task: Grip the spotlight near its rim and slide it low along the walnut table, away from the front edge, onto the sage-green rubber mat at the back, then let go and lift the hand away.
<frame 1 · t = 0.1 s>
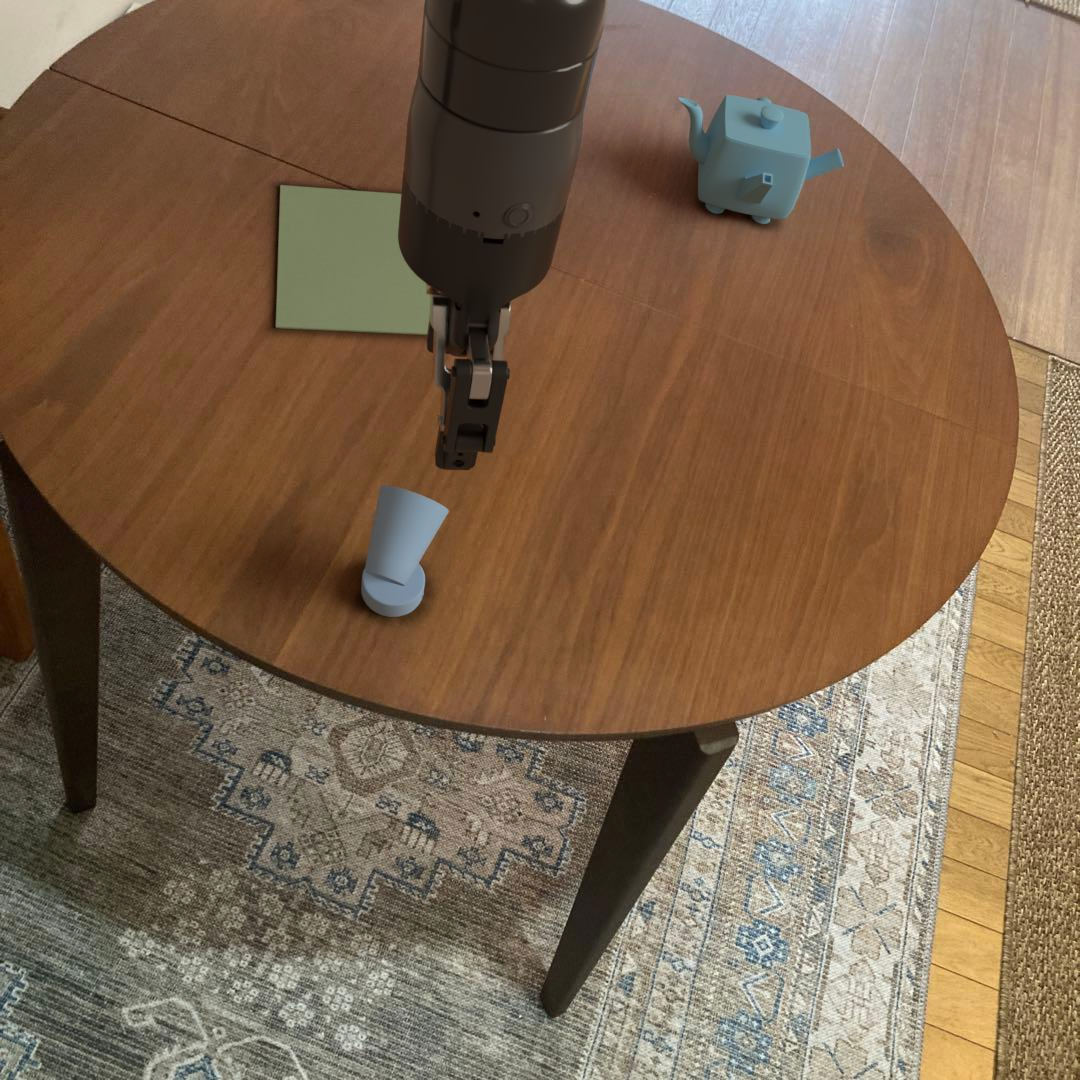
hand: (449, 405, 60), 20 cm above the table, tool pointing down, fingers open, 8 cm apart
teapot: (735, 202, 108), on the table
spotlight: (394, 586, 76), on the table
mat: (380, 259, 94), on the table
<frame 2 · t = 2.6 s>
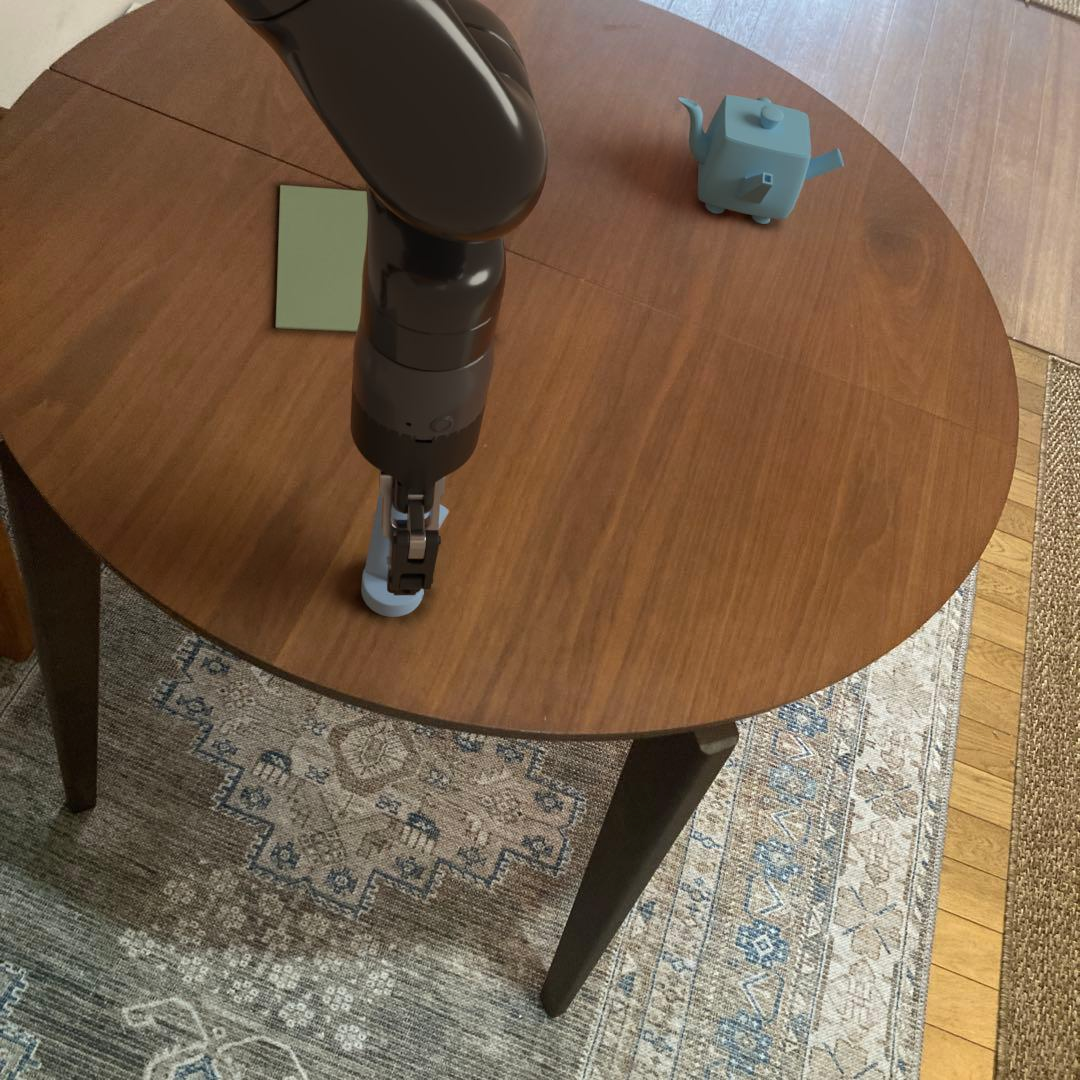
hand: (401, 540, 71), 6 cm above the table, tool pointing down, fingers closed on spotlight, 7 cm apart
spotlight: (394, 586, 76), on the table, touching gripper
everything else where it was.
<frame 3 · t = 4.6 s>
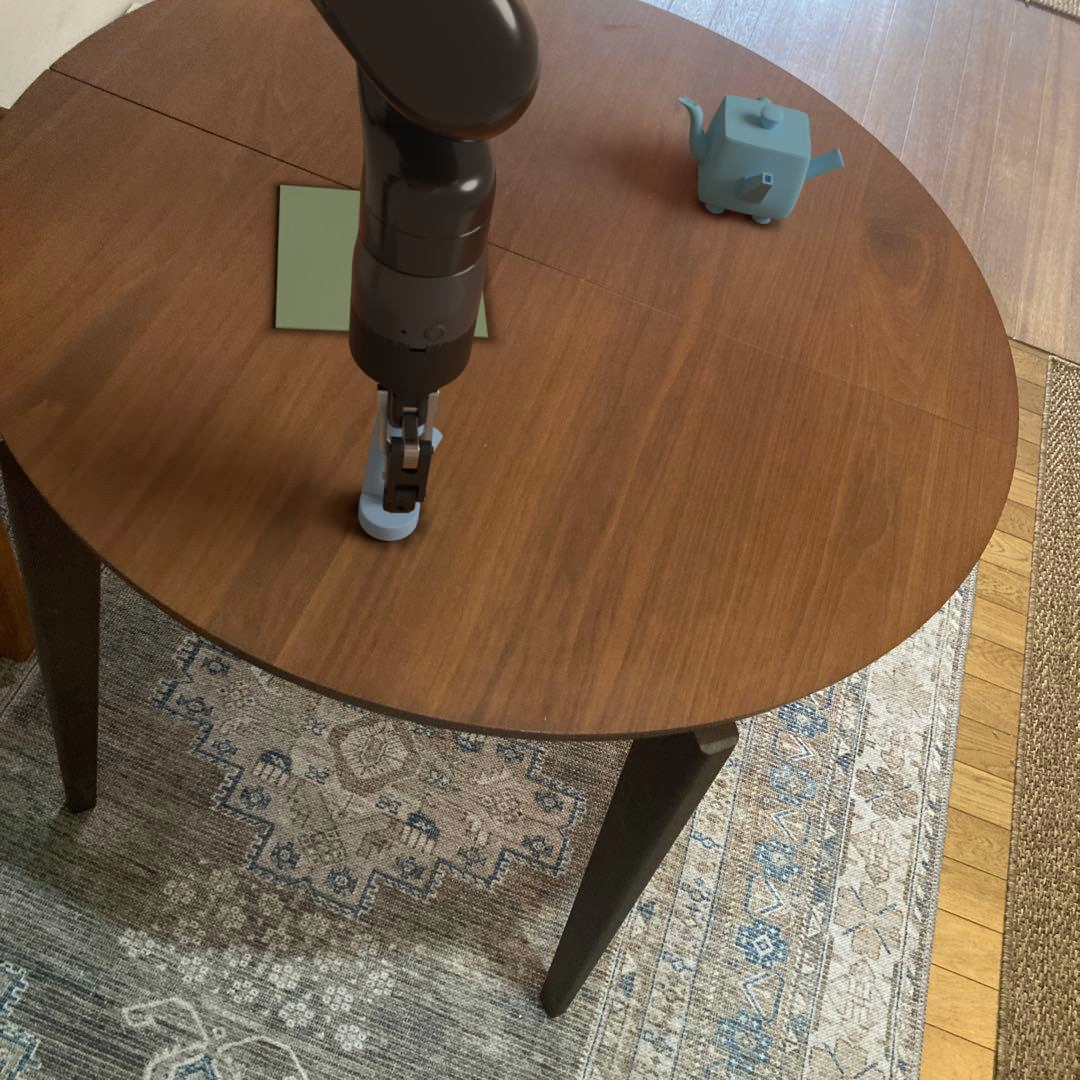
hand: (396, 463, 74), 6 cm above the table, tool pointing down, fingers closed on spotlight, 7 cm apart
spotlight: (390, 512, 79), on the table, touching gripper
everything else where it was.
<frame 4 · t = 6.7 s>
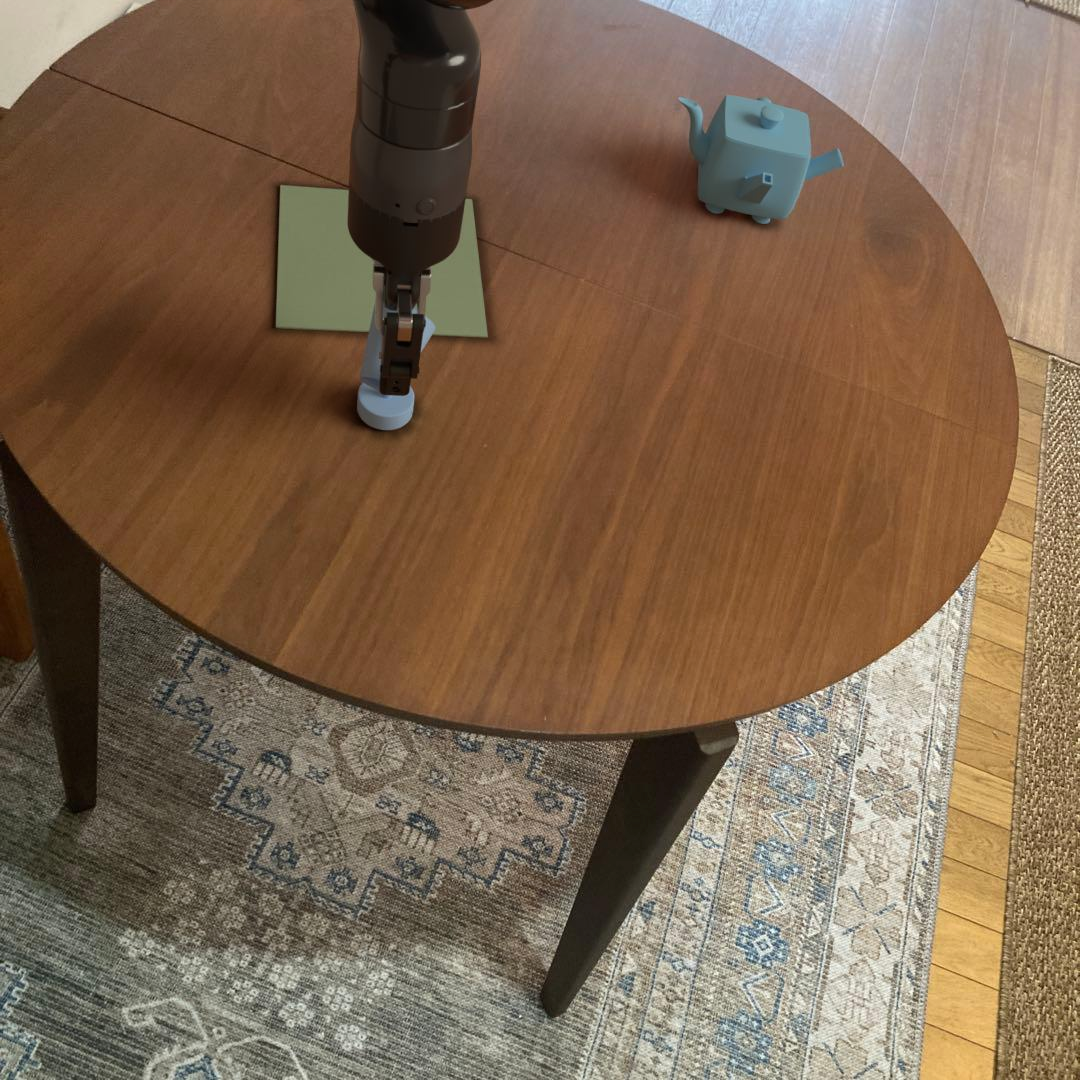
hand: (392, 353, 80), 6 cm above the table, tool pointing down, fingers closed on spotlight, 7 cm apart
spotlight: (386, 406, 85), on the table, touching gripper
everything else where it was.
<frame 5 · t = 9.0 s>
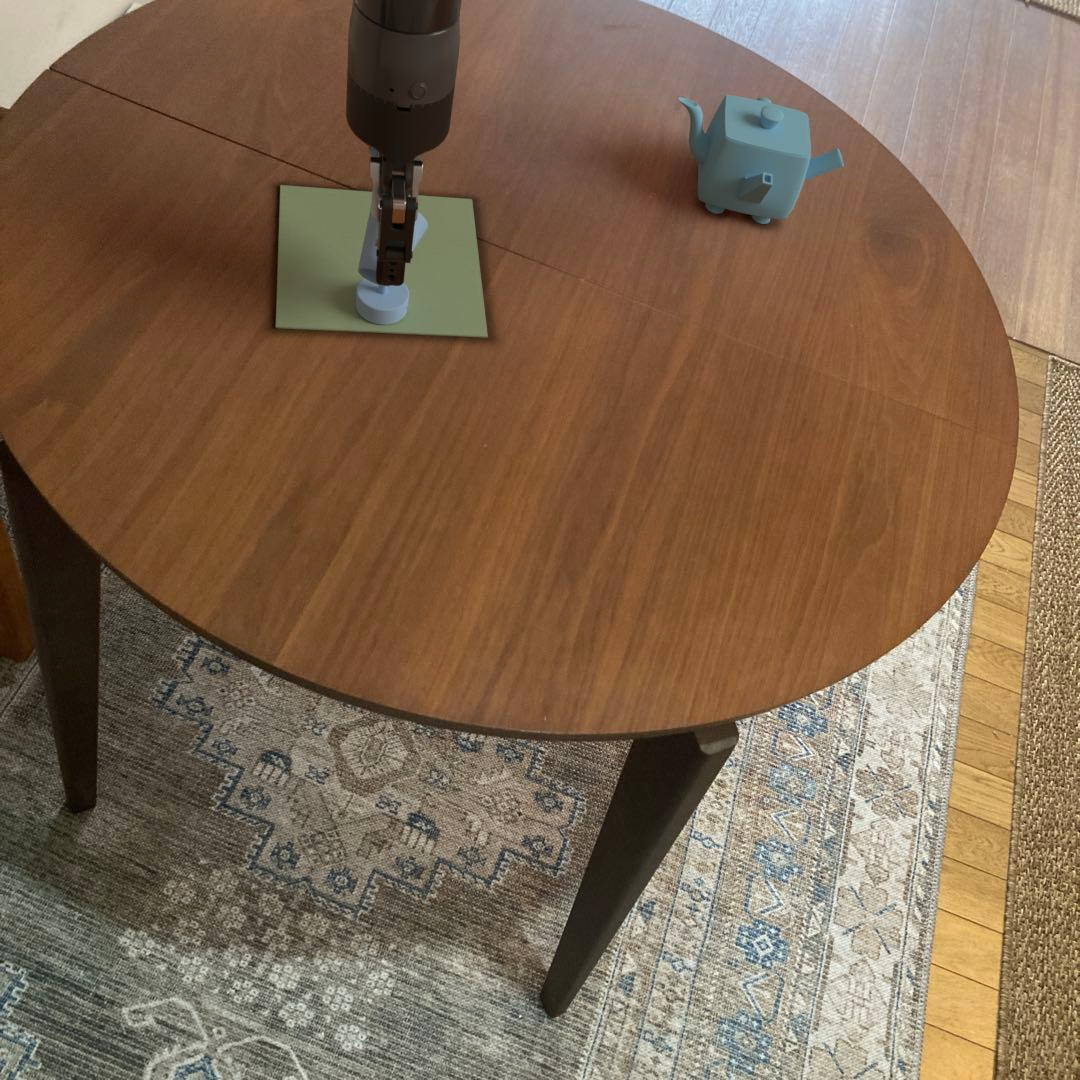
hand: (388, 249, 86), 6 cm above the table, tool pointing down, fingers closed on spotlight, 7 cm apart
spotlight: (383, 304, 91), resting on mat, touching gripper
everything else where it was.
when the fingers open (6 cm above the table, at t = 10.8 s): spotlight stays where it is, resting on mat.
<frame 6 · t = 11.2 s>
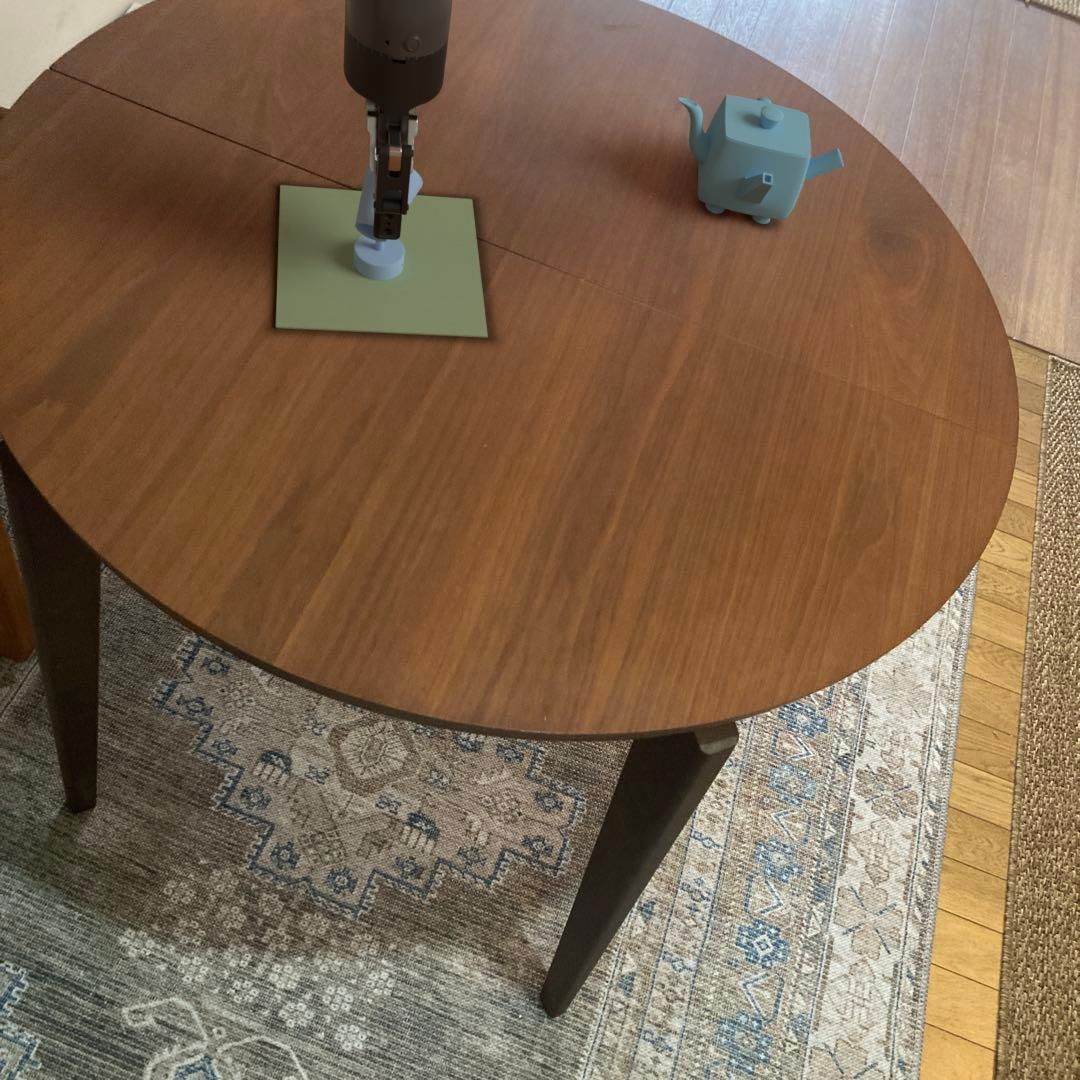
hand: (384, 202, 88), 6 cm above the table, tool pointing down, fingers open, 8 cm apart
spotlight: (380, 261, 94), resting on mat
everything else where it was.
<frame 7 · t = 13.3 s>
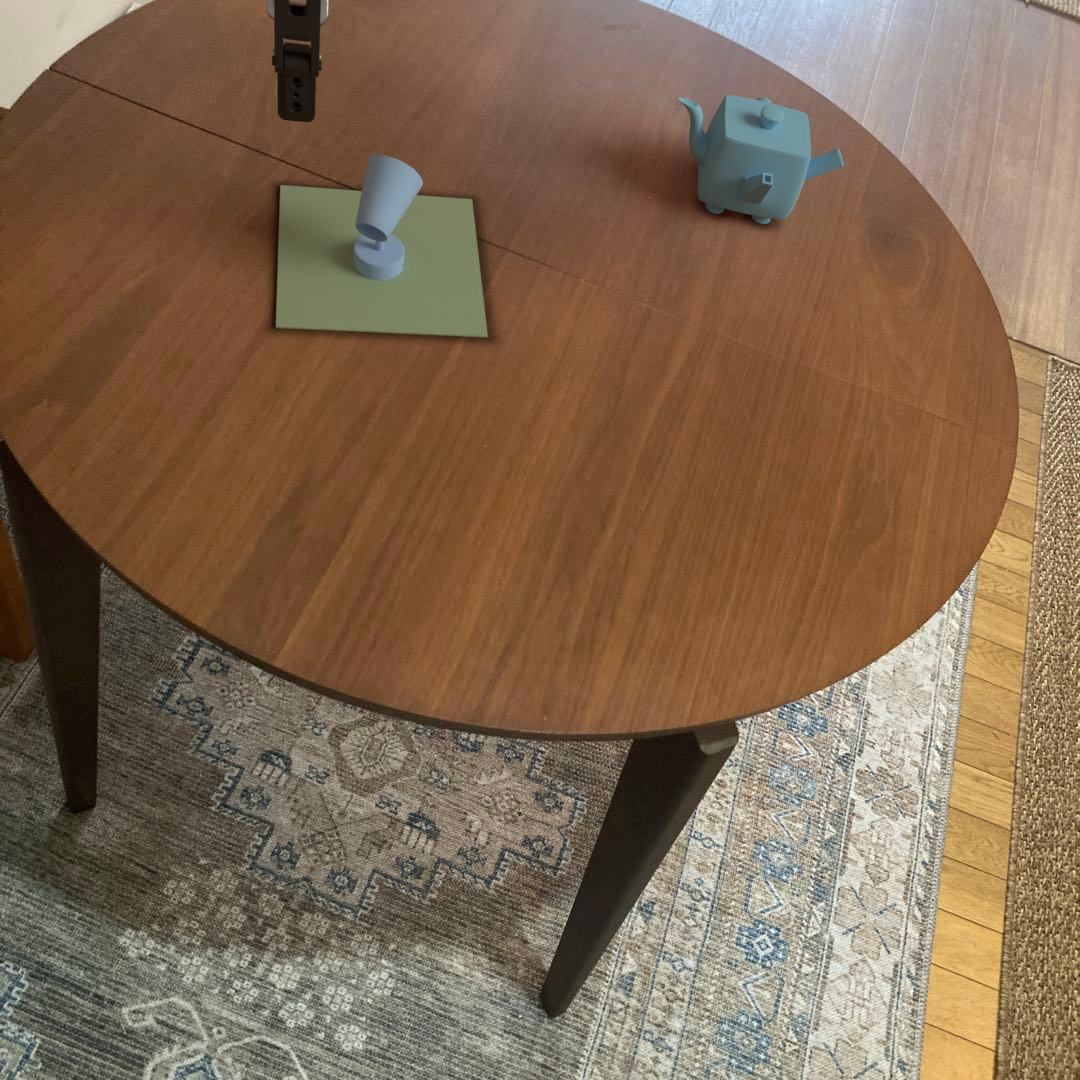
hand: (296, 76, 66), 25 cm above the table, tool pointing down, fingers open, 8 cm apart
nothing on the table moved.
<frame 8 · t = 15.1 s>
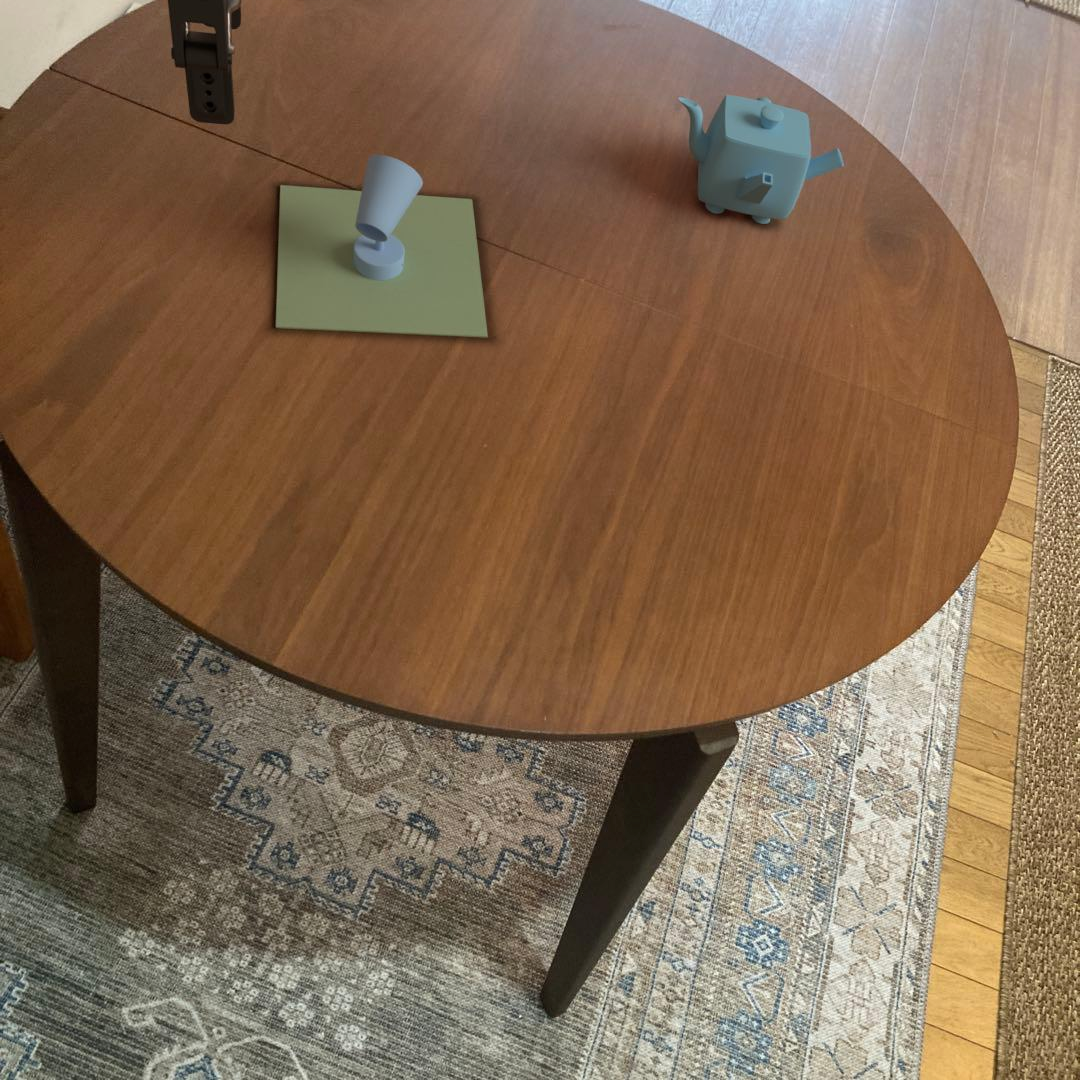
hand: (217, 70, 57), 30 cm above the table, tool pointing down, fingers open, 8 cm apart
nothing on the table moved.
at the end: spotlight inside the target area on the mat (0.2 cm from its centre), point 0.0 cm above the mat's base; spotlight tilted 0°; spotlight moved 33.8 cm from its start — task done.
